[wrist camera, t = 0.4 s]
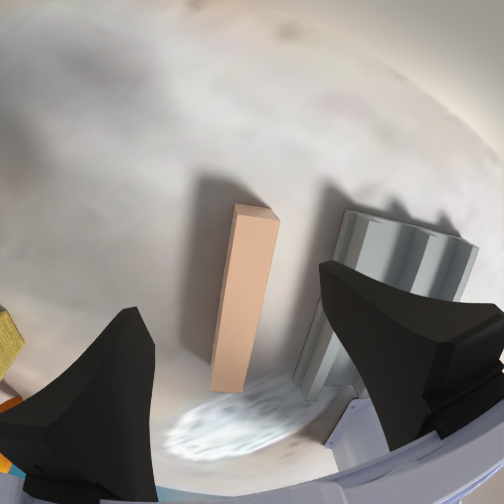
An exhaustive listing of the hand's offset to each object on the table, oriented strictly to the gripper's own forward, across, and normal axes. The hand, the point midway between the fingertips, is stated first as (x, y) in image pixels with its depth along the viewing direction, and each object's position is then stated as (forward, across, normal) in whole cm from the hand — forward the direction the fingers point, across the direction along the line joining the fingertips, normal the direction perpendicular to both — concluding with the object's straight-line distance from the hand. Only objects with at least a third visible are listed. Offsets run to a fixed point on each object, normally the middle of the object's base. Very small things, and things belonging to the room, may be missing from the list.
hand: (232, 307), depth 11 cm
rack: (+9, -12, +11) cm, 18 cm away
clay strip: (+10, 0, +6) cm, 12 cm away
